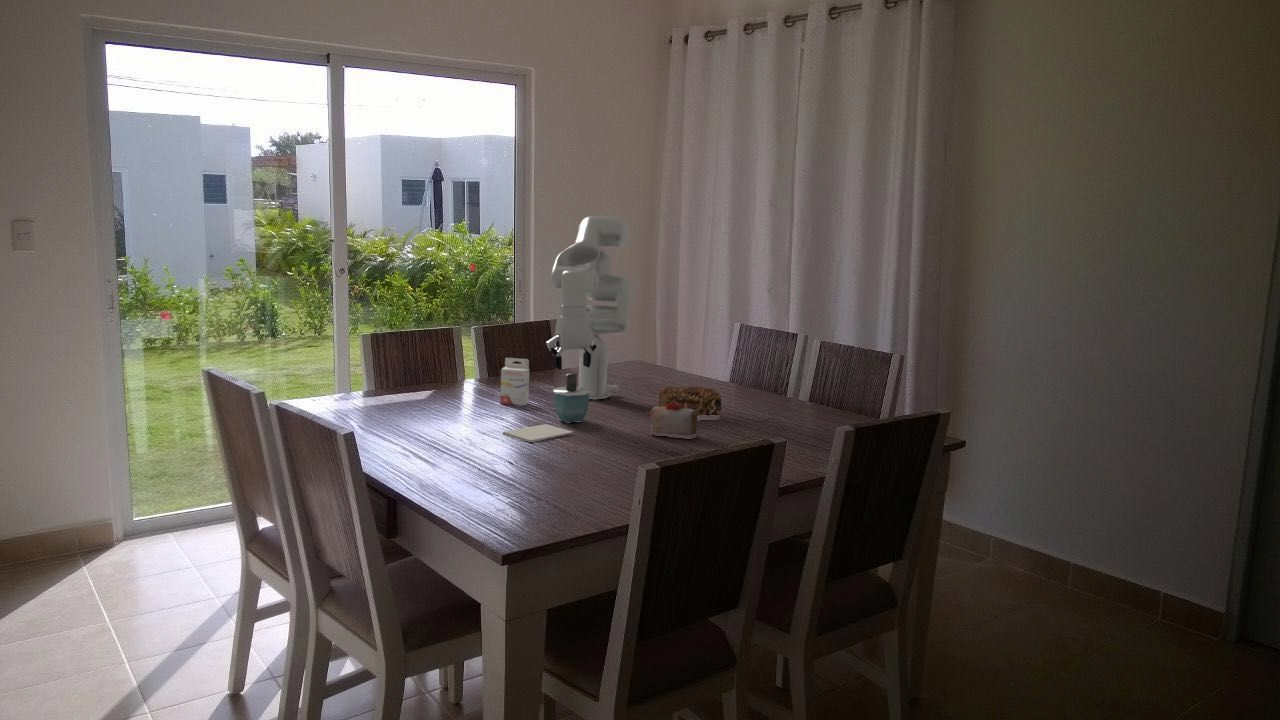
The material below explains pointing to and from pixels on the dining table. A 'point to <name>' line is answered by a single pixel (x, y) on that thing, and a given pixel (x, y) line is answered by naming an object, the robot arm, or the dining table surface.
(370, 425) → the dining table surface
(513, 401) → the ink cartridge box
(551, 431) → the linen napkin
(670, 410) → the food item
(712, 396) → the bread
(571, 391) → the lid
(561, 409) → the flower pot
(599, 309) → the robot arm
